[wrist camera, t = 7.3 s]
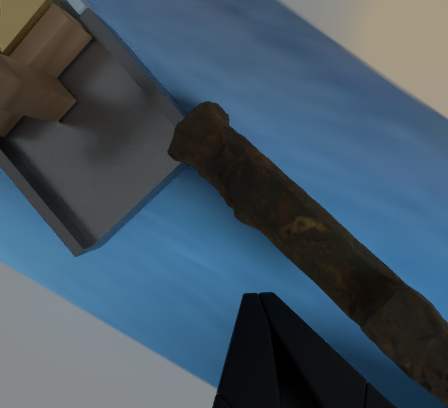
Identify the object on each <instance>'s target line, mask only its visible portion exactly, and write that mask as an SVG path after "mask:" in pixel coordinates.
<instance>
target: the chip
mask: <svg viewBox="0 0 448 408" xmlns="http://www.w3.org/2000/svg"><path fill="white" fill-rule="evenodd" d="M53 3H55V4H56V5H57V6H59V7H60V8H61V9H63V10H64V11H65V12H67V13H68V14H69V15H71V16H72V14H71V13H70V12H69V10H68V9H67V8H66V6H65V5H64V4H63V2H62V1H61V0H0V50H1V52H2V53H4V54H5V55H7V56H10V55H11V54H12V53H13V51H14V50H15V49H16V48H17V47H18V45H19V44H20V43H21V42H22V41H23V39H24V38H25V37H26V36H27V35H28V33H29V32H30V31H31V30H32V29H33V27H34V26H35V25H36V24H37V23H38V21H39V20H40V19H41V18H42V17H43V15H44V14H45V13H46V12H47V11H48V9H49V8H50V7H51V6H52V5H53ZM72 17H73V16H72ZM73 18H74V17H73ZM74 19H75V18H74Z"/></svg>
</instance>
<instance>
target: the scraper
mask: <svg viewBox="0 0 448 408" xmlns="http://www.w3.org/2000/svg"><path fill="white" fill-rule="evenodd" d="M92 38H93V37H92V36H91V35H90V33H89V32H88V31H87V30H86V29H85V28H84V27H83V25H82V24H81V23H80V22H78V21H77V20H76V19H74V18H73V17H72V16H71V15H69V14H68V13H67V12H65V11H64V10H63V9H61V8H60V7H59V6H57V5H56V4H55V3H53V5H52V6H51V7H50V8H49V9H48V11H47V12H46V13H45V14H44V15H43V17H42V18H41V19H40V20H39V21H38V23H37V24H36V25H35V26H34V27H33V29H32V30H31V31H30V32H29V33H28V35H27V36H26V37H25V38H24V39H23V41H22V42H21V43H20V44H19V45H18V47H17V48H16V49H15V50H14V51H13V53H12V54H11V55H10V56H9V57H8V56H5V55H3V54H1V53H0V136H2V137H5V136H6V135H7V134H8V132H9V131H10V130H11V129H12V128H13V127H14V126H15V125H16V123H17V122H18V121H19V120H20V119H21V118H22V117H23V115H25V116H30V117H34V118H38V119H42V120H47V121H51V122H55V123H57V122H58V121H59V119H60V118H61V117H62V116H63V115H64V114H65V113H66V112H67V111H68V110H69V109H70V108H71V106H72V105H73V104H74V103H75V102H76V100H75V99H74V98H73V96H72V95H71V94H70V93H69V92H68V91H67V89H66V88H65V87H64V86H63V85H62V83H61V82H60V81H59V80H58V79H57V77H58V76H59V75H60V74H61V73H62V72H63V70H64V69H65V68H66V67H67V66H68V65H69V64H70V63H71V61H72V60H73V59H74V58H75V57H76V56H77V55H78V54H79V52H80V51H81V50H82V49H83V48H84V47H85V46H86V45H87V43H88V42H89V41H90V40H91V39H92Z"/></svg>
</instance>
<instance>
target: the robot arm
mask: <svg viewBox="0 0 448 408" xmlns="http://www.w3.org/2000/svg"><path fill="white" fill-rule="evenodd" d="M212 408H396V407H395V406H394V405H393V404H392V403H391V402H390V401H388V400H387V399H386V398H385V397H384V396H383V395H382V394H381V393H380V392H379V391H378V390H377V389H375V388H374V387H373V386H372V385H371V384H370V383H367V381H366V379H365V378H364V377H363V376H361V375H360V374H359V373H358V372H357V371H356V370H355V369H354V368H353V367H352V366H351V365H350V364H349V363H348V362H347V361H346V360H345V359H343V358H342V357H341V356H340V355H339V354H338V353H337V352H336V351H335V350H334V349H333V348H332V347H331V346H330V345H329V344H328V343H326V342H325V341H324V340H323V339H322V338H321V337H320V336H319V335H318V334H317V333H316V332H315V331H314V330H313V329H312V328H311V327H310V326H308V325H307V324H306V323H305V322H304V321H303V320H302V319H301V318H300V317H299V316H298V315H297V314H296V313H295V312H294V311H293V310H291V309H290V308H289V307H288V306H287V305H286V304H285V303H284V302H283V301H282V300H281V299H280V298H279V297H278V296H277V295H276V294H274V293H273V292H263V293H259V294H257V293H245V294H243V296H242V300H241V304H240V308H239V311H238V315H237V319H236V322H235V326H234V330H233V334H232V337H231V341H230V345H229V348H228V352H227V356H226V359H225V363H224V367H223V371H222V374H221V378H220V382H219V385H218V389H217V394H216V396H215V400H214V403H213V407H212Z"/></svg>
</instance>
